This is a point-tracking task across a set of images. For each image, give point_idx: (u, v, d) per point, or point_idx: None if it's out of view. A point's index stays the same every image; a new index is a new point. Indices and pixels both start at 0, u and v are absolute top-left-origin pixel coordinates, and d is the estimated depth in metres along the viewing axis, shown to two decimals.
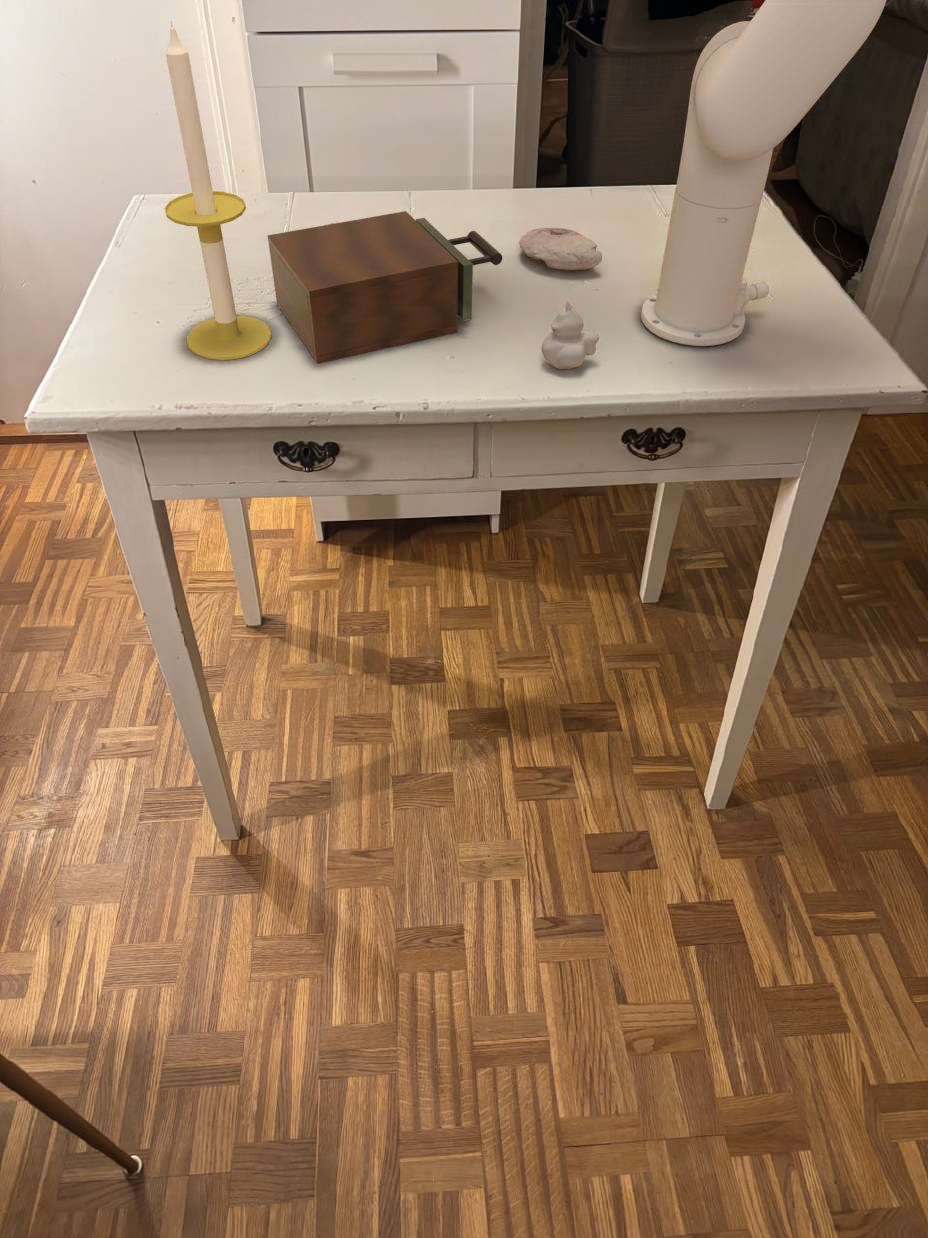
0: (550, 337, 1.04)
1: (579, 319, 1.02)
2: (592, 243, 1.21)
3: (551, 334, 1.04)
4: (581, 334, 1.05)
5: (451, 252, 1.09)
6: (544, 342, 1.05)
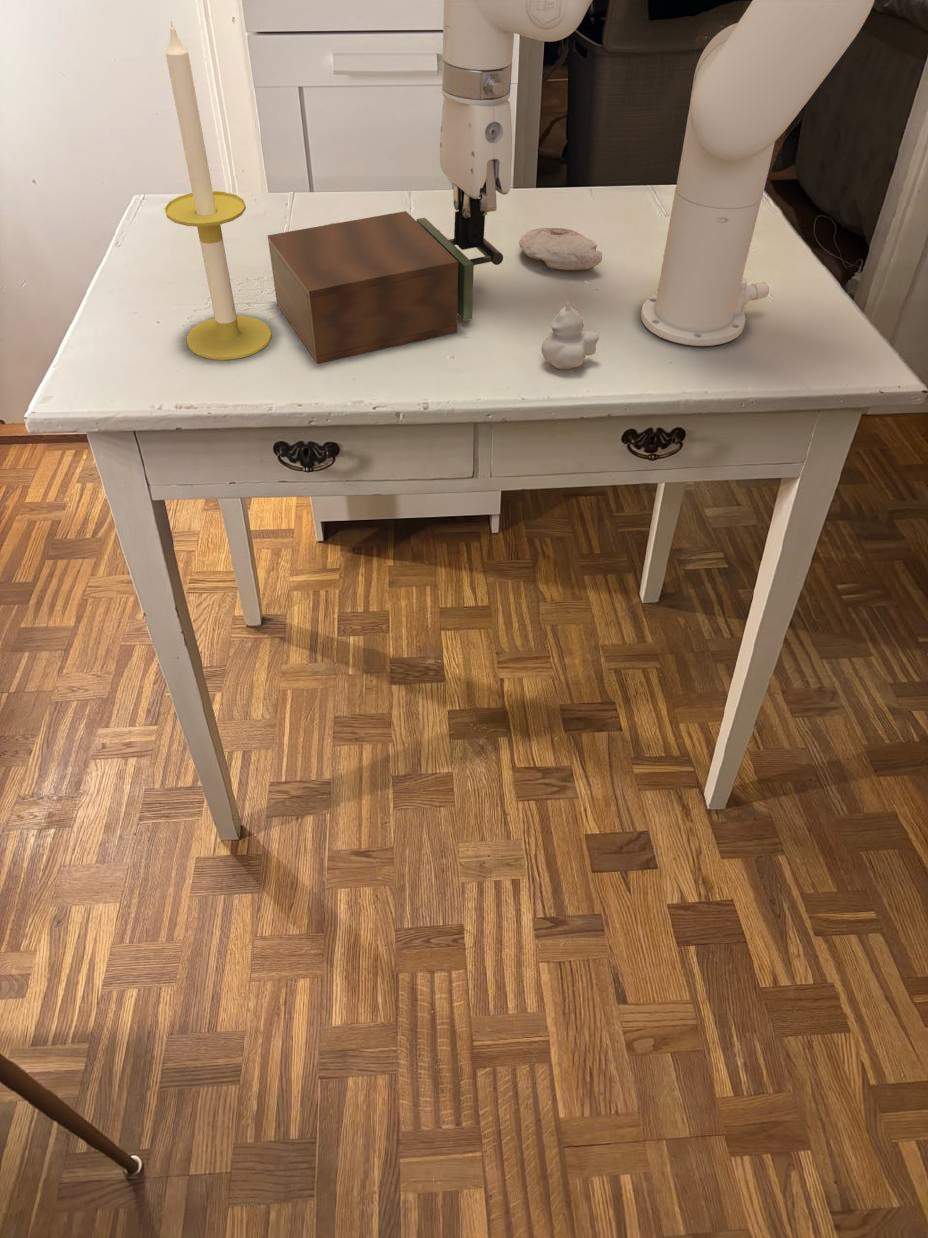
0: (550, 337, 1.04)
1: (579, 319, 1.02)
2: (592, 243, 1.21)
3: (551, 334, 1.04)
4: (581, 334, 1.05)
5: (452, 252, 1.09)
6: (544, 342, 1.05)
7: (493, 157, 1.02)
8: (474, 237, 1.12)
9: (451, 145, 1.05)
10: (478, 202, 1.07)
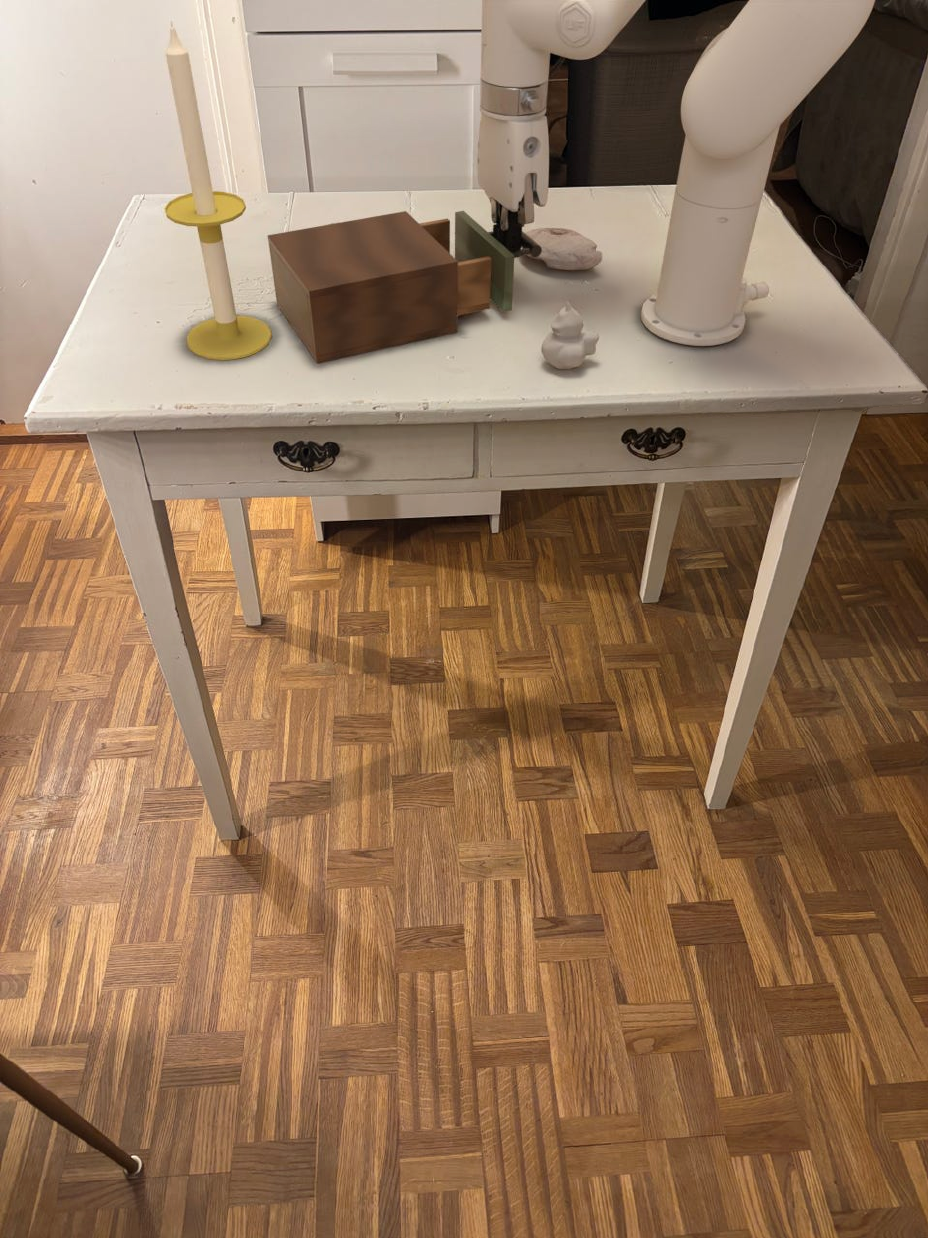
0: (550, 337, 1.04)
1: (579, 319, 1.02)
2: (592, 243, 1.21)
3: (551, 334, 1.04)
4: (581, 334, 1.05)
5: (492, 244, 1.11)
6: (544, 342, 1.05)
7: (531, 171, 1.05)
8: (512, 248, 1.14)
9: (489, 160, 1.08)
10: (516, 214, 1.10)
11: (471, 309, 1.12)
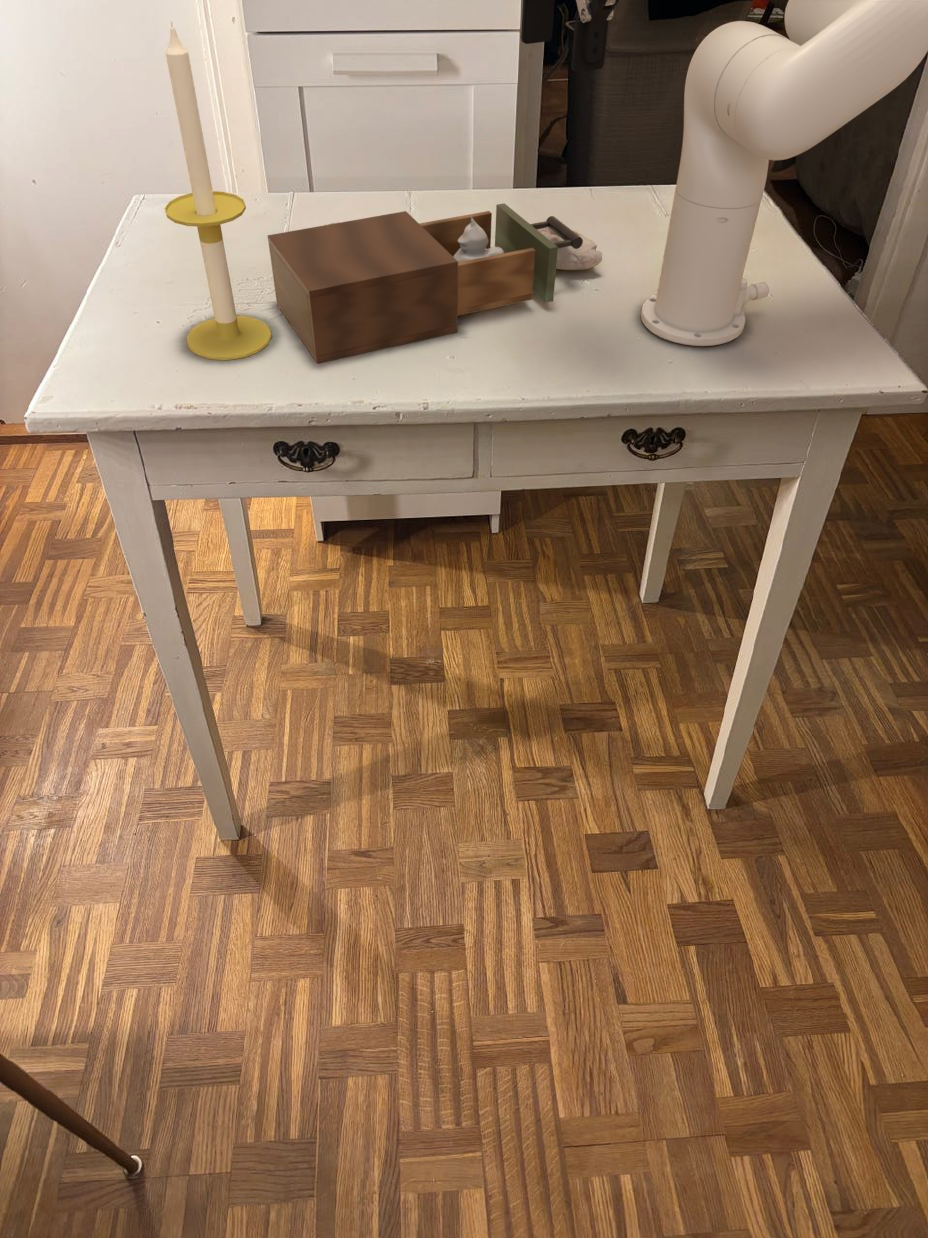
0: (459, 252, 1.14)
1: (483, 234, 1.12)
2: (592, 243, 1.21)
3: (459, 250, 1.14)
4: (487, 250, 1.14)
5: (535, 236, 1.13)
6: None
7: None
8: (593, 52, 0.84)
9: None
10: None
11: (514, 300, 1.14)
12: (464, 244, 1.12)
